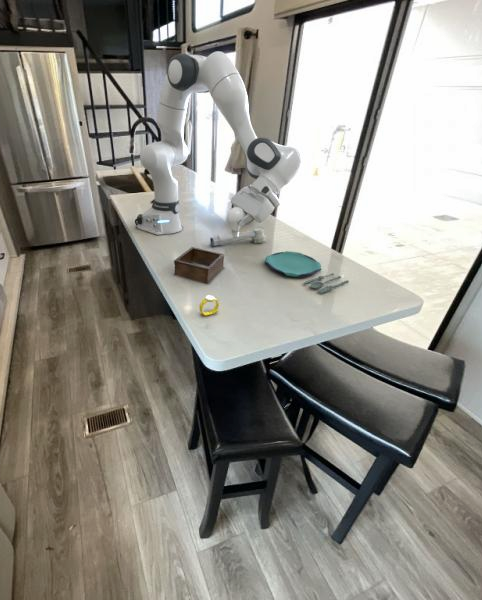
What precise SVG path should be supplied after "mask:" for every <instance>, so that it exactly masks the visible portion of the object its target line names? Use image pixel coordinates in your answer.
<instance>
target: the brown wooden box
mask: <svg viewBox="0 0 482 600" xmlns="http://www.w3.org/2000/svg"><path fill="white" fill-rule="evenodd" d="M173 262H174V263H173V265H174V275H175V276H176V277H177V276H178V277H181V278H185V279H189V280H193V281H196V282H200V283H203V284H207V285H208V284H209V283H211V281H212V280H213V279H214V278H215V277H216V276H217V275H218V274H219V273H220V272H221V271H222V270H223V269H224V262H225V253H221V252H216V251H211V250H207V249H203V248H199V247H194V246H191V247H189V248H188V249H187V250H186V251H184V252H183V253H182V254H180V255H179V256H177V258H175V259H174V260H173ZM194 263H197V264H194ZM198 264H199V265H198ZM200 264H201V265H200ZM202 265H204V266H202Z"/></svg>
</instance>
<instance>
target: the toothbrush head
mask: <svg viewBox="0 0 482 600" xmlns="http://www.w3.org/2000/svg"><path fill="white" fill-rule="evenodd" d="M266 237H267V235H266V233H264V229H263V228H262V227H256V228H254V229H252V230H247V231H239V236H238V237H237V238H233V237H232V236H231V233H227V234H221V235H219V234H217V235H216V236H211V237H210V238H209V241H210V246H211V247H213V248H214V247H217V246H219V247H221V246H222V245H226V244H231V243H234V242H239V241H243V240H244V241H245V240H248V239H251V241H252V243H253V244H262V243H263V242H265V239H266Z"/></svg>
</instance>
